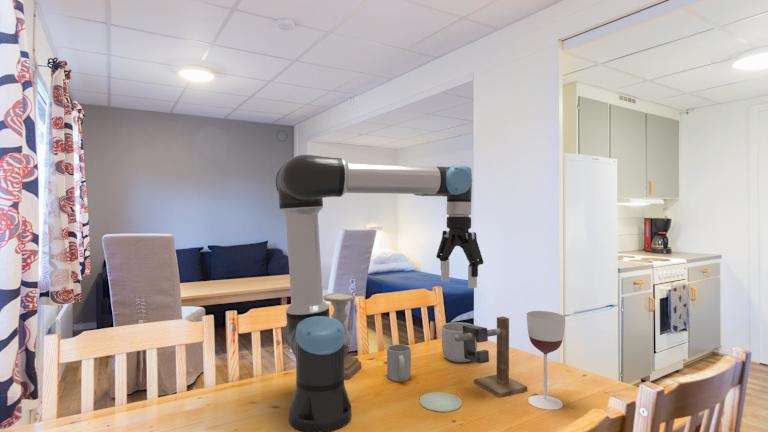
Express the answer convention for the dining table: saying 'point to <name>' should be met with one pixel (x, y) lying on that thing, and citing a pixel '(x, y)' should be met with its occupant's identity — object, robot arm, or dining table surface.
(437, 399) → the coaster
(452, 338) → the planter
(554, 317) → the wineglass
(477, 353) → the link
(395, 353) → the cup
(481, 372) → the dining table surface
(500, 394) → the stand
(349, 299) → the candle holder
